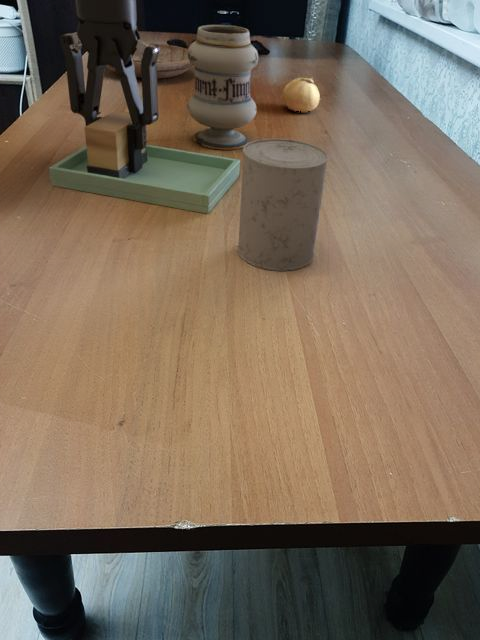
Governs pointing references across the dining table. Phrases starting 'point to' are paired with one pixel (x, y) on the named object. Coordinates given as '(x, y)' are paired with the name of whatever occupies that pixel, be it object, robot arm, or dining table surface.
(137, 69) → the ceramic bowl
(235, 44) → the apothecary jar
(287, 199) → the grey cylinder
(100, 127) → the eraser
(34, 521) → the dining table surface
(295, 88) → the onion
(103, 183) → the tray
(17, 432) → the dining table surface
